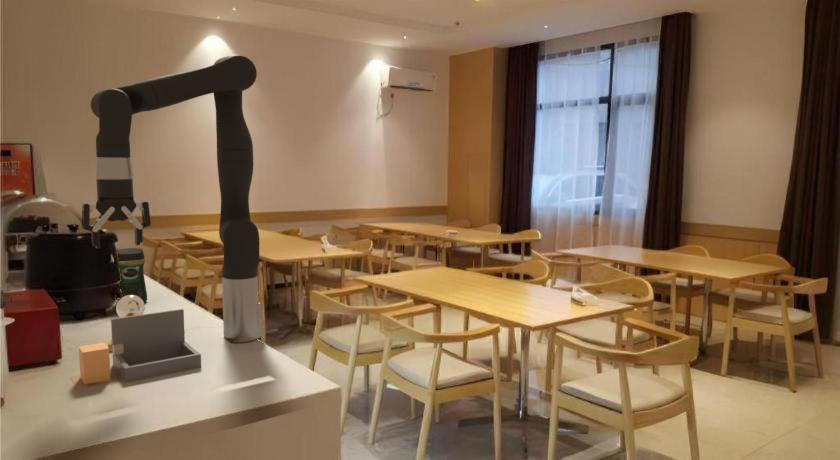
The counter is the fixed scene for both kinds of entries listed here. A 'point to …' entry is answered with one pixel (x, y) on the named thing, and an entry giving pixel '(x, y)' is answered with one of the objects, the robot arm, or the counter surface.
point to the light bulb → (130, 306)
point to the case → (151, 345)
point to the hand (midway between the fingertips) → (118, 246)
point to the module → (94, 363)
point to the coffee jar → (132, 272)
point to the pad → (79, 383)
